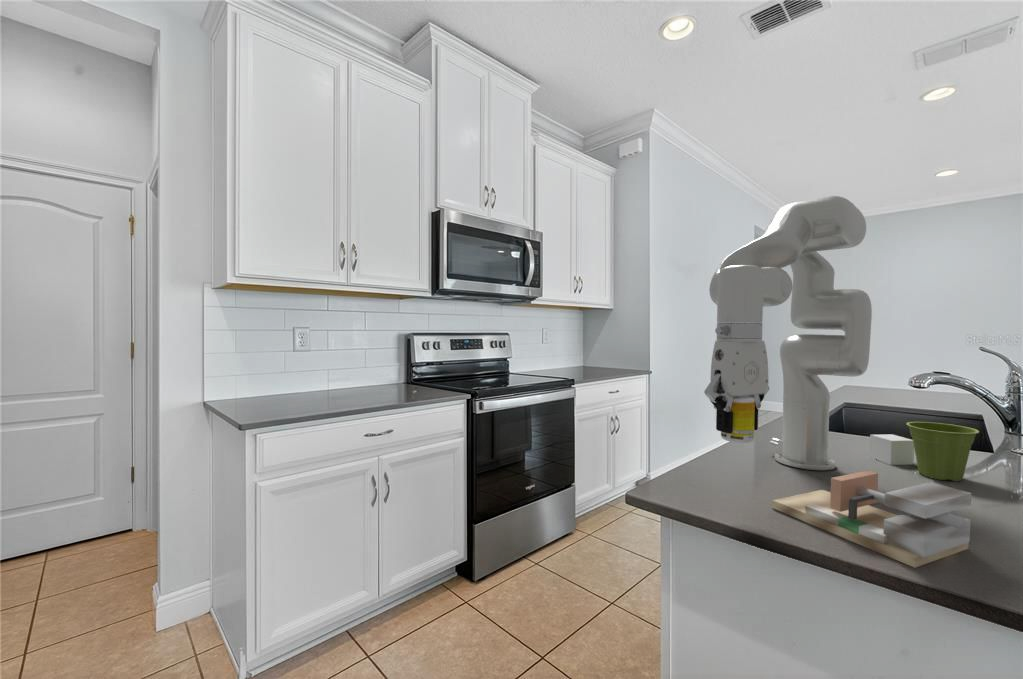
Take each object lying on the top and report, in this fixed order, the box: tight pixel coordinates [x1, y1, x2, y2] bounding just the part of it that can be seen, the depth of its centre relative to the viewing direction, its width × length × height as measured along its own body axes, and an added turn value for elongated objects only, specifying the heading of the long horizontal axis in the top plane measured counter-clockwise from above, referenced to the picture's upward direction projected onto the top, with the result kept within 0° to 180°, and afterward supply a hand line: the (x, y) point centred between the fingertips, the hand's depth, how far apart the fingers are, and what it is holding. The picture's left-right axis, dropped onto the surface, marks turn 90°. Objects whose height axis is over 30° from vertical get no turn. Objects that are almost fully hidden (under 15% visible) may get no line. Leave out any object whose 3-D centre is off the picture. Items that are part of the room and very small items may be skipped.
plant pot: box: [906, 421, 980, 482], centre depth 101 cm, size 12×12×11 cm
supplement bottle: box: [720, 396, 755, 444], centre depth 84 cm, size 6×6×10 cm
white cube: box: [869, 433, 915, 466], centre depth 113 cm, size 6×6×6 cm
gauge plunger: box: [830, 470, 964, 529], centre depth 71 cm, size 15×11×5 cm
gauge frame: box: [771, 481, 972, 569], centre depth 76 cm, size 22×14×9 cm, turn 22°
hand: (736, 429), depth 84 cm, fingers closed on supplement bottle, 5 cm apart
